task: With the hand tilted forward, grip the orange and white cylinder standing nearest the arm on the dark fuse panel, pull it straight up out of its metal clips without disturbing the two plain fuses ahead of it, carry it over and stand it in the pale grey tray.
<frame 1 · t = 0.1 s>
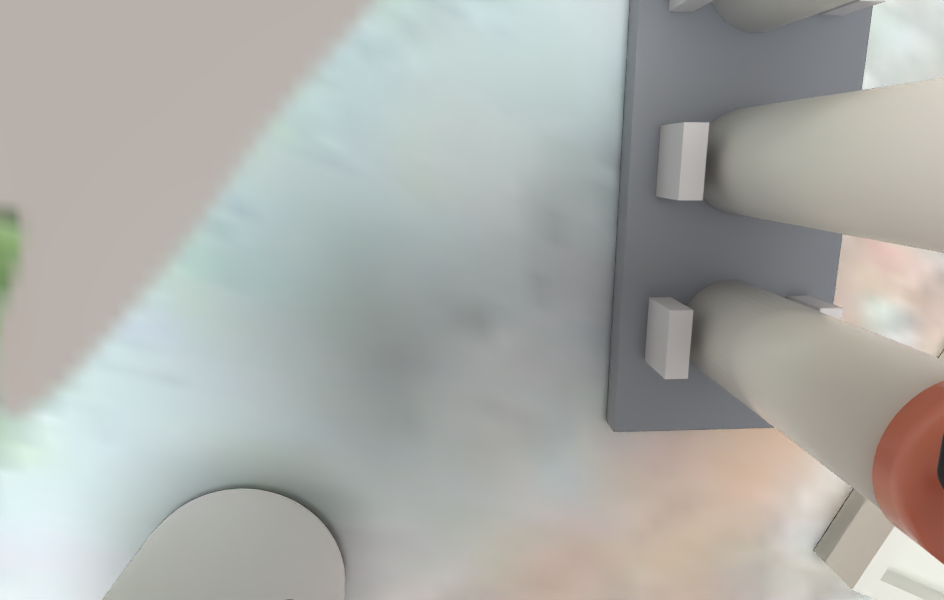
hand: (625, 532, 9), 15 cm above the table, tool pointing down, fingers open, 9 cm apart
fuse panel: (714, 321, 24), on the table
orange and white cylinder: (726, 328, 24), point 1 cm above the table, touching fuse panel
pill bottle: (248, 568, 26), on the table
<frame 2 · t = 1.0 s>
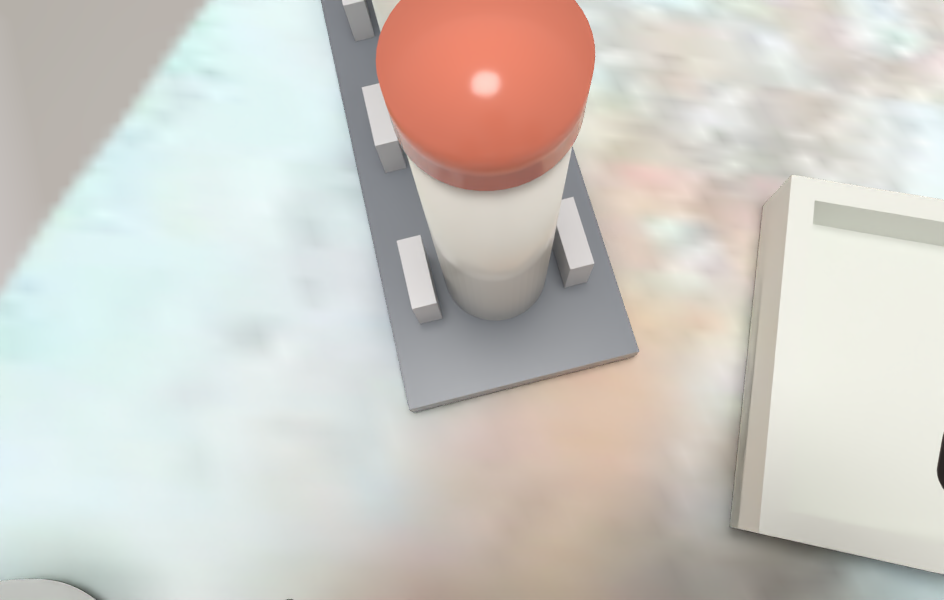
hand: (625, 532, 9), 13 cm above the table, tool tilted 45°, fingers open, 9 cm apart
fuse panel: (495, 279, 24), on the table
tray: (921, 389, 22), on the table
orange and white cylinder: (495, 271, 23), point 1 cm above the table, touching fuse panel
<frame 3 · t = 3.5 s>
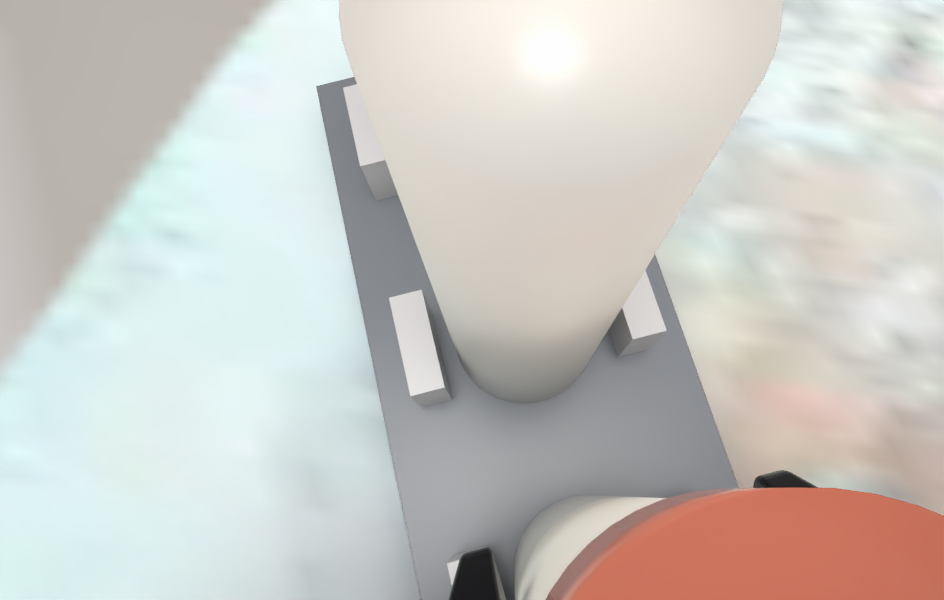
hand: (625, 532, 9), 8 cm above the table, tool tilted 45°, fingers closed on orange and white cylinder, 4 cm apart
fuse panel: (585, 570, 16), on the table
orange and white cylinder: (590, 575, 15), point 1 cm above the table, touching fuse panel, gripper
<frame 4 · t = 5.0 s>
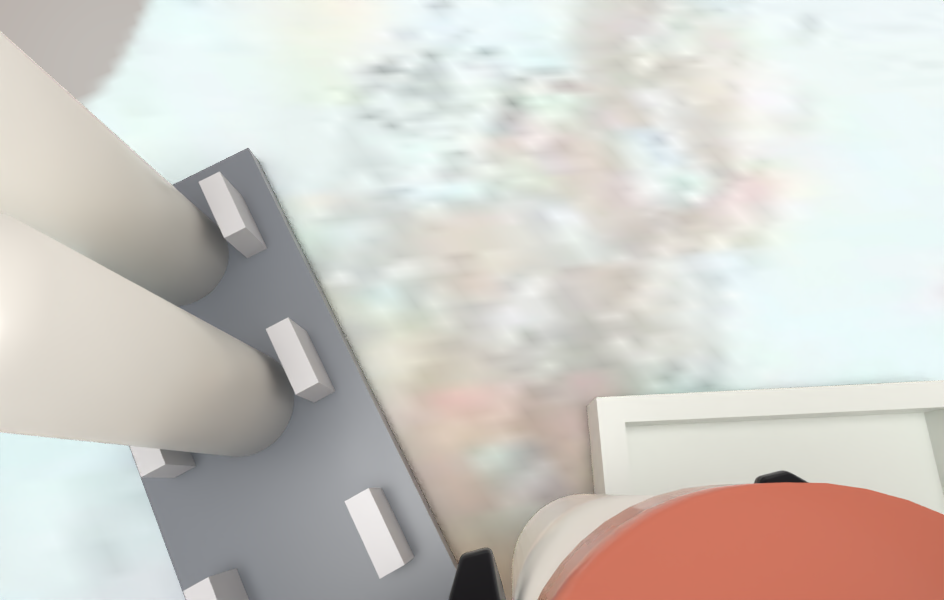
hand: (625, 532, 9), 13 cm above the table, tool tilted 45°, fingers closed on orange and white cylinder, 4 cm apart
fuse panel: (322, 565, 21), on the table
tray: (785, 580, 20), on the table
orange and white cylinder: (588, 573, 15), point 6 cm above the table, touching gripper
when the fingers open (9 cm above the table, at t = 6.5 s): orange and white cylinder drops 1 cm, resting on tray.
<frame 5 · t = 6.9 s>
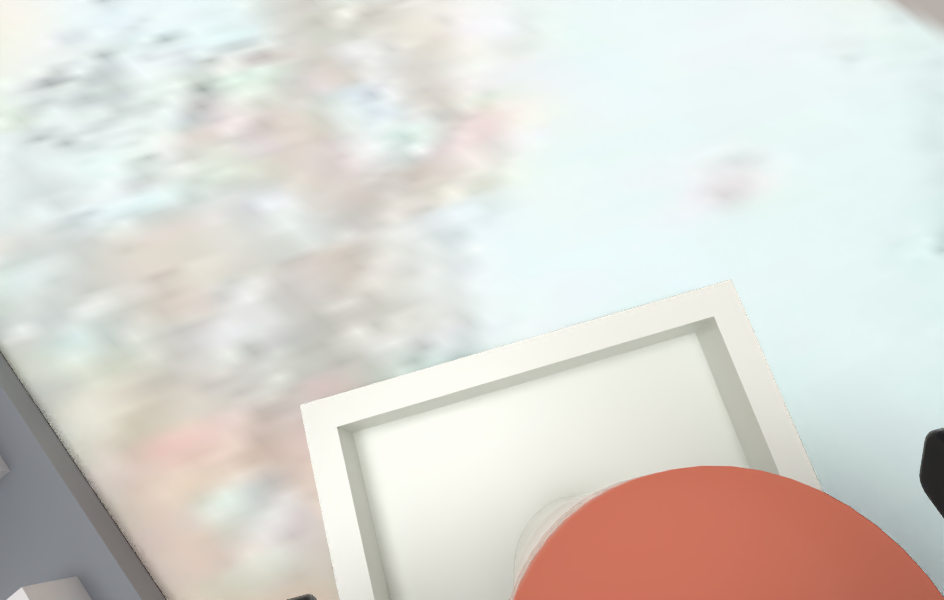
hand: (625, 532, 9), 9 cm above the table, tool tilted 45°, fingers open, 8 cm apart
tray: (580, 564, 17), on the table
orange and white cylinder: (584, 568, 16), point 1 cm above the table, touching tray
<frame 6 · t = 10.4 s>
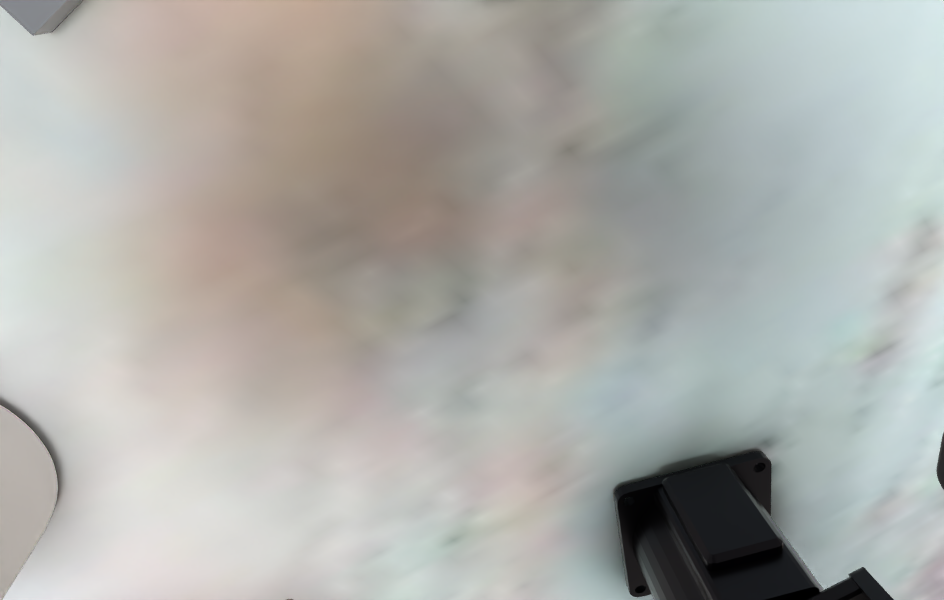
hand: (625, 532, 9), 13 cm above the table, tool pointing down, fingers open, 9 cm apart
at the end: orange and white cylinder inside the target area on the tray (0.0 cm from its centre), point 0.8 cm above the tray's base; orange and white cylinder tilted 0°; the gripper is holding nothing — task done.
